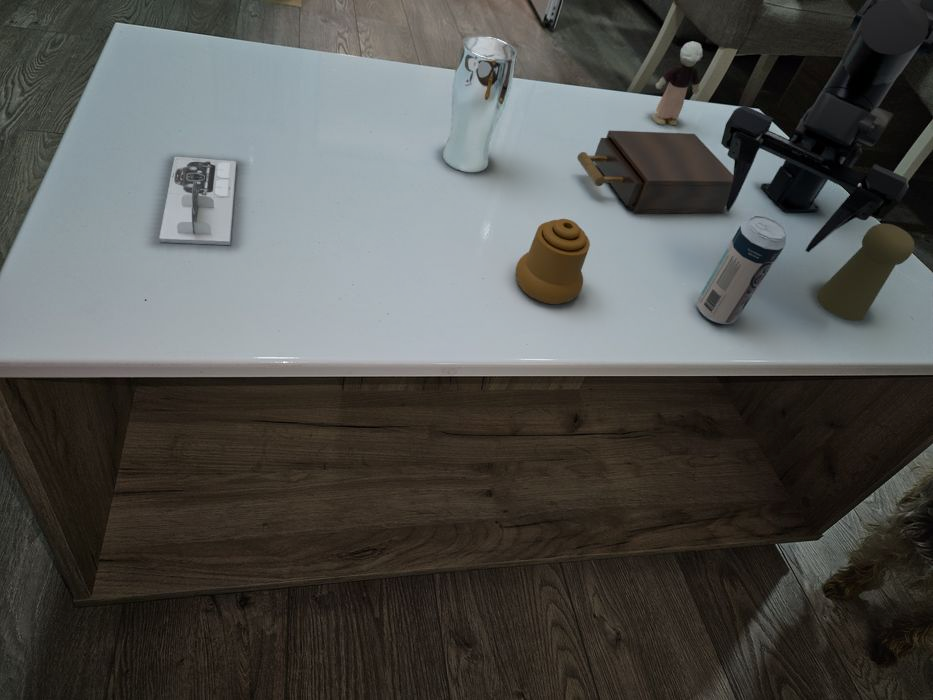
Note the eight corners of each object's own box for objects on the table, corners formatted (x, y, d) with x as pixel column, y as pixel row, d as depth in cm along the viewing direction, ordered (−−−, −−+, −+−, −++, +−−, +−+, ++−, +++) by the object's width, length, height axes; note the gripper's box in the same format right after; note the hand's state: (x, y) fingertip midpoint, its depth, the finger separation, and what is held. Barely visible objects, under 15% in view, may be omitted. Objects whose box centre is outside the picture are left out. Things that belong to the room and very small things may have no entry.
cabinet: (634, 213, 90) (648, 180, 86) (596, 162, 98) (608, 130, 94) (722, 212, 95) (739, 181, 91) (680, 163, 102) (694, 133, 99)
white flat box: (230, 245, 70) (228, 208, 67) (159, 242, 68) (153, 204, 65) (236, 164, 80) (234, 129, 77) (174, 160, 78) (170, 123, 75)
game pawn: (861, 328, 82) (922, 256, 74) (812, 304, 83) (867, 230, 76) (868, 303, 86) (926, 232, 78) (821, 281, 87) (874, 209, 80)
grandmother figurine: (672, 113, 115) (706, 37, 106) (686, 125, 112) (722, 48, 103) (636, 115, 111) (668, 36, 102) (650, 127, 109) (683, 48, 100)
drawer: (598, 206, 88) (607, 183, 86) (566, 158, 95) (573, 136, 92) (710, 205, 94) (721, 184, 91) (672, 161, 101) (682, 140, 98)
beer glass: (430, 161, 89) (451, 45, 78) (451, 140, 94) (474, 28, 83) (479, 181, 88) (507, 66, 77) (498, 158, 93) (526, 48, 82)
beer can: (736, 332, 77) (793, 246, 68) (695, 320, 77) (747, 233, 68) (733, 305, 80) (787, 220, 72) (694, 293, 80) (743, 208, 72)
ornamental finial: (501, 285, 74) (531, 254, 79) (562, 318, 72) (589, 283, 77) (519, 225, 68) (551, 195, 74) (586, 258, 67) (613, 226, 72)
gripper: (777, 26, 68) (692, 162, 68) (970, 105, 62) (876, 251, 63) (759, 83, 78) (685, 200, 79) (922, 154, 73) (842, 279, 74)
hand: (766, 230), depth 73 cm, fingers open, 9 cm apart
